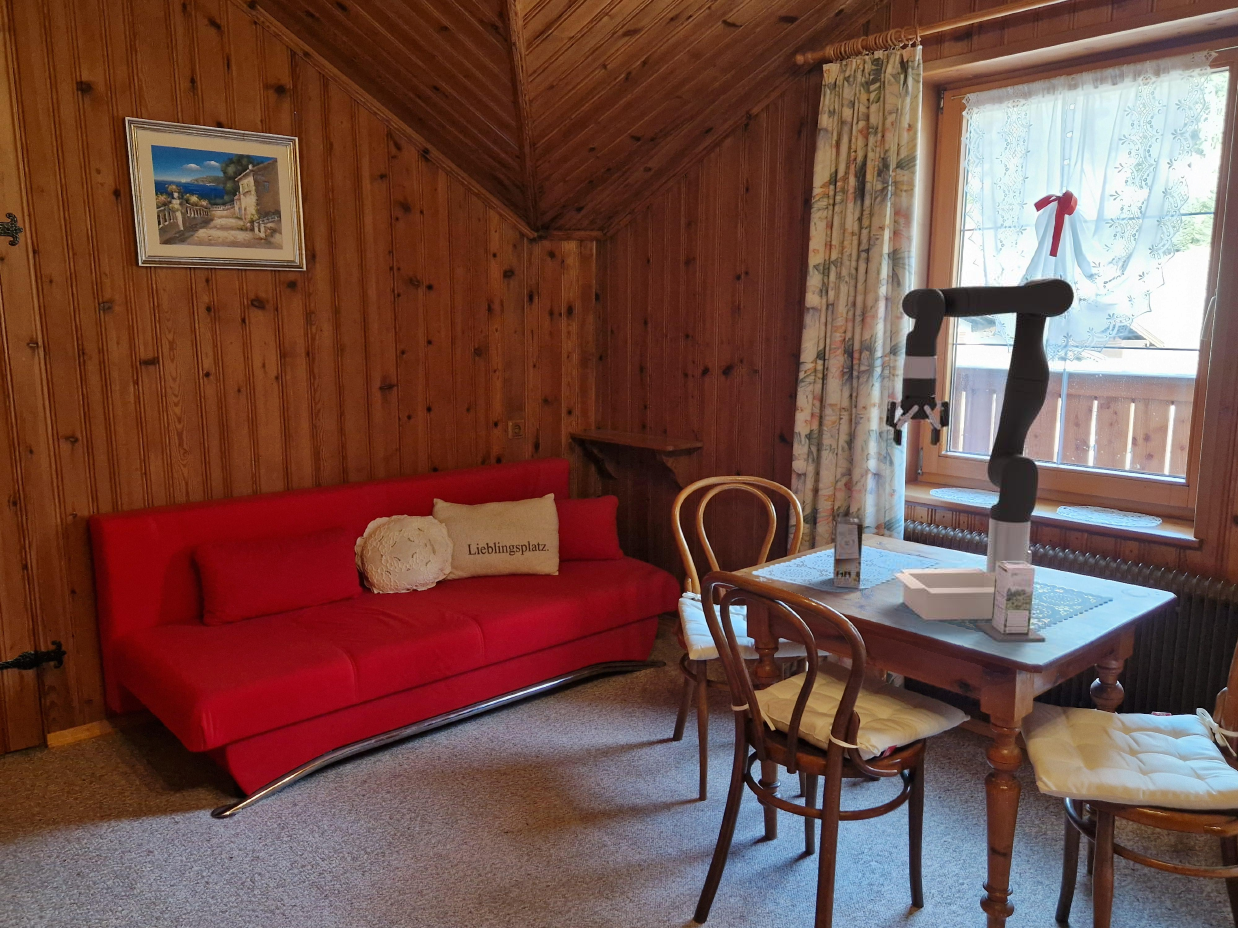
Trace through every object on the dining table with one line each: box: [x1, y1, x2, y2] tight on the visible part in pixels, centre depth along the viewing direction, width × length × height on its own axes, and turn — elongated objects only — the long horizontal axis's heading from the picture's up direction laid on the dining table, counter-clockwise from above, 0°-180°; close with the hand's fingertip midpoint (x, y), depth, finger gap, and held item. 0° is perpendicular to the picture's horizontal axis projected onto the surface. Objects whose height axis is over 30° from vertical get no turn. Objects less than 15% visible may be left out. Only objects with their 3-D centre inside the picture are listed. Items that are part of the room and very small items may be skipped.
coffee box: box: [833, 516, 864, 589], centre depth 228 cm, size 9×6×16 cm
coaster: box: [975, 622, 1046, 643], centre depth 192 cm, size 10×10×1 cm
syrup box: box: [991, 561, 1036, 634], centre depth 191 cm, size 6×6×14 cm
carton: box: [892, 567, 995, 621], centre depth 207 cm, size 25×19×7 cm
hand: (915, 445), depth 215 cm, fingers open, 8 cm apart
